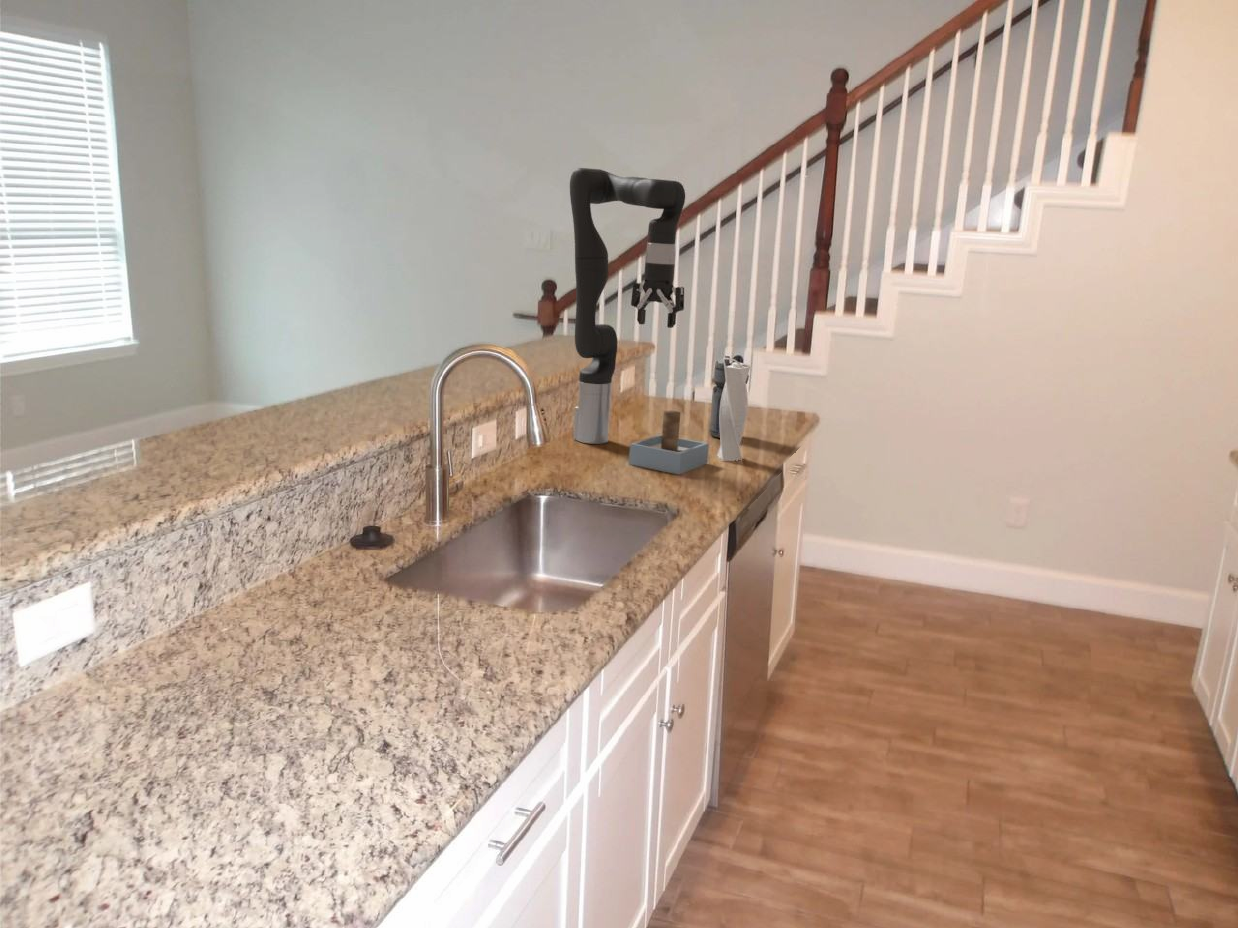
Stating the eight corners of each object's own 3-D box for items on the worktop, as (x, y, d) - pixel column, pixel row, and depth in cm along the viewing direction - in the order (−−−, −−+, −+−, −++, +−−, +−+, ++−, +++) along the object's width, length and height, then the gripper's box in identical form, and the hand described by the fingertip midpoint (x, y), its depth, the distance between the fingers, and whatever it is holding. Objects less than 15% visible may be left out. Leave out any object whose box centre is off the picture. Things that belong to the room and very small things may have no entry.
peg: (657, 463, 257) (660, 412, 254) (665, 461, 261) (668, 409, 258) (671, 466, 255) (675, 414, 252) (679, 463, 259) (683, 412, 256)
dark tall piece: (749, 435, 299) (757, 354, 293) (734, 442, 288) (742, 358, 282) (718, 430, 304) (725, 350, 298) (703, 437, 292) (709, 354, 286)
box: (628, 464, 255) (630, 443, 254) (658, 453, 269) (660, 434, 267) (679, 474, 248) (680, 453, 247) (707, 463, 261) (708, 443, 260)
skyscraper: (719, 462, 263) (728, 359, 256) (710, 455, 270) (718, 355, 263) (747, 462, 265) (756, 360, 258) (736, 455, 272) (745, 355, 265)
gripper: (691, 263, 246) (687, 328, 250) (643, 259, 253) (639, 322, 257) (677, 264, 240) (673, 329, 244) (628, 259, 247) (624, 323, 251)
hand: (655, 325), depth 251 cm, fingers open, 8 cm apart
